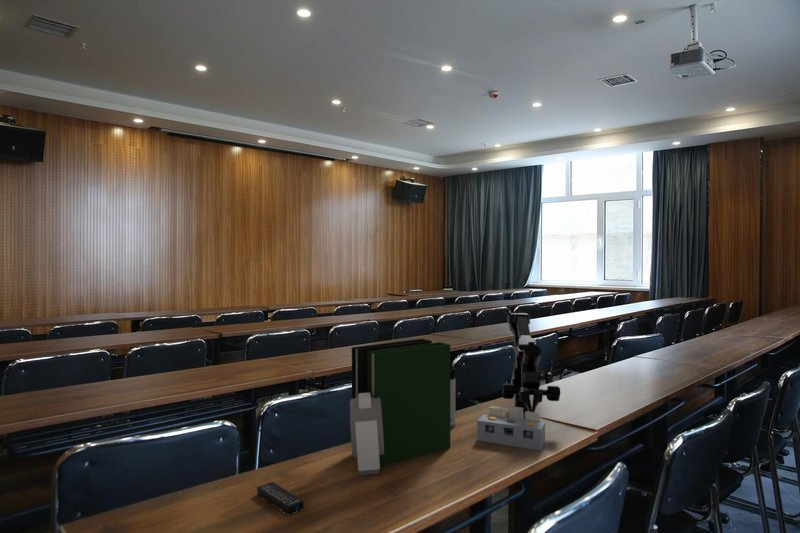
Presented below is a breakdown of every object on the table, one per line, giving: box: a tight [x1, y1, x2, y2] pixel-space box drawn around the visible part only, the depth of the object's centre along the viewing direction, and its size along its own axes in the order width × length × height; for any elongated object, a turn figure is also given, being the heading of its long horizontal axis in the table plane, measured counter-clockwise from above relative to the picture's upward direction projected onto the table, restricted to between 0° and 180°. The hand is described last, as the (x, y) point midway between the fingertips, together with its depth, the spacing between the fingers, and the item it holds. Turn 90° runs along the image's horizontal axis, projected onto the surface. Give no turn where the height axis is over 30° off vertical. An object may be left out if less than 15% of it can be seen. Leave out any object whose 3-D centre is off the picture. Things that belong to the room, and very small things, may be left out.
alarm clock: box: [349, 392, 384, 476], centre depth 139 cm, size 18×8×20 cm, turn 4°
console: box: [476, 414, 546, 451], centre depth 158 cm, size 7×20×7 cm, turn 64°
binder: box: [351, 338, 451, 468], centre depth 151 cm, size 27×15×32 cm, turn 126°
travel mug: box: [450, 367, 457, 429], centre depth 174 cm, size 6×7×20 cm
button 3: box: [524, 411, 541, 437], centre depth 157 cm, size 8×4×6 cm, turn 154°
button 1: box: [487, 406, 504, 431], centre depth 162 cm, size 8×4×6 cm, turn 154°
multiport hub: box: [256, 481, 305, 516], centre depth 119 cm, size 4×14×2 cm, turn 44°
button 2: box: [508, 405, 524, 431], centre depth 162 cm, size 8×4×6 cm, turn 154°
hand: (532, 415), depth 163 cm, fingers closed
